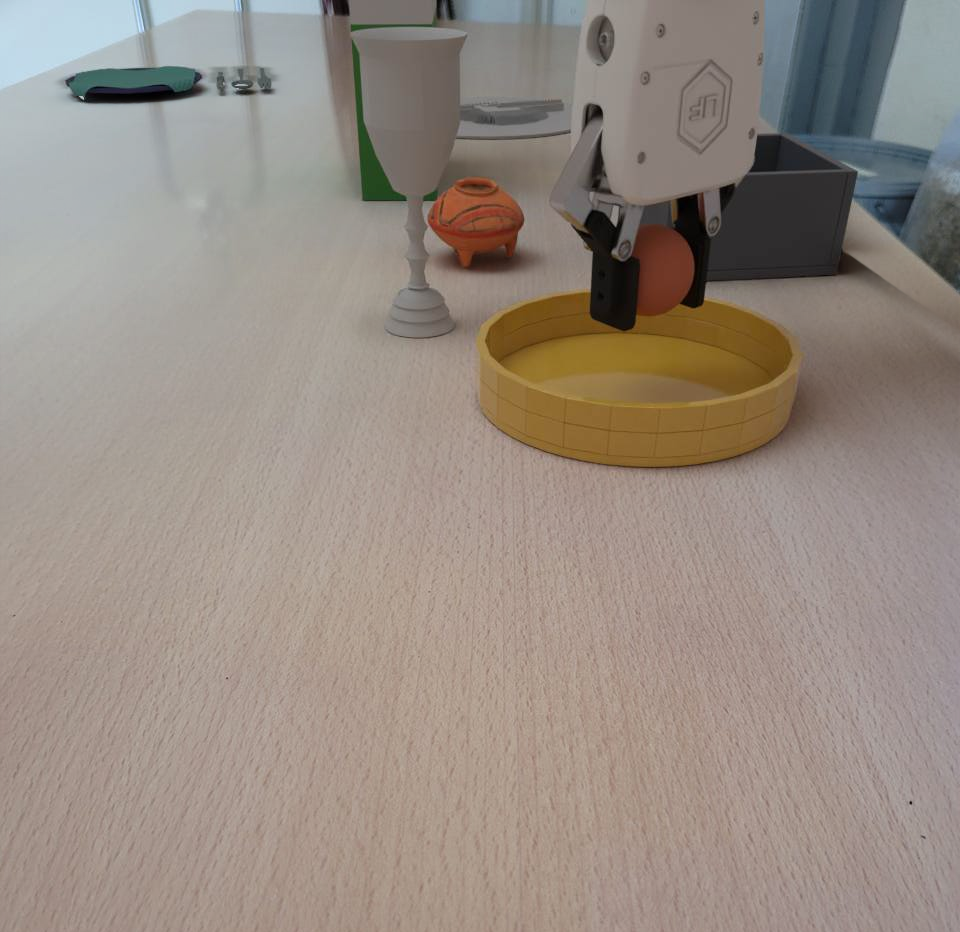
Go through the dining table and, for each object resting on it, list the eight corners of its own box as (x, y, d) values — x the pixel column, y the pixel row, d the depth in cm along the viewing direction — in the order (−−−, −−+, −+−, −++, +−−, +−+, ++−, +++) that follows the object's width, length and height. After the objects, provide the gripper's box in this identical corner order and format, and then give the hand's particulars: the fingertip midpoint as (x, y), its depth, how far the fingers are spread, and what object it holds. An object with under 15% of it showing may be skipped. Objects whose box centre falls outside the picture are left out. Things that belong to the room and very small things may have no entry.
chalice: (352, 334, 70) (329, 37, 59) (392, 304, 75) (377, 24, 64) (449, 347, 68) (443, 42, 57) (483, 315, 73) (484, 29, 62)
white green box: (375, 160, 114) (359, -102, 99) (440, 160, 114) (433, -102, 99) (362, 200, 100) (341, -100, 85) (436, 199, 100) (428, -100, 85)
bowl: (729, 332, 70) (737, 282, 68) (843, 455, 55) (858, 396, 53) (459, 345, 68) (459, 294, 66) (501, 478, 53) (502, 417, 51)
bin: (771, 225, 92) (786, 132, 87) (836, 275, 81) (858, 171, 76) (616, 232, 91) (624, 137, 86) (660, 283, 79) (671, 177, 74)
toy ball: (675, 296, 61) (684, 211, 58) (700, 326, 57) (711, 235, 54) (595, 302, 61) (600, 216, 58) (615, 332, 57) (620, 241, 54)
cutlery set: (75, 84, 157) (71, 67, 155) (268, 77, 162) (266, 60, 160) (60, 106, 141) (55, 88, 140) (274, 98, 146) (272, 80, 145)
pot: (509, 236, 88) (517, 159, 83) (527, 285, 83) (536, 207, 78) (419, 238, 87) (422, 160, 82) (432, 287, 82) (435, 208, 77)
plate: (549, 94, 148) (549, 85, 147) (630, 130, 127) (631, 119, 126) (365, 106, 141) (364, 96, 140) (418, 145, 120) (417, 134, 119)
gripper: (601, -50, 41) (582, 369, 53) (853, -70, 50) (790, 297, 61) (490, -56, 46) (494, 329, 57) (736, -74, 54) (698, 267, 65)
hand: (646, 309), depth 59 cm, fingers closed on toy ball, 4 cm apart
